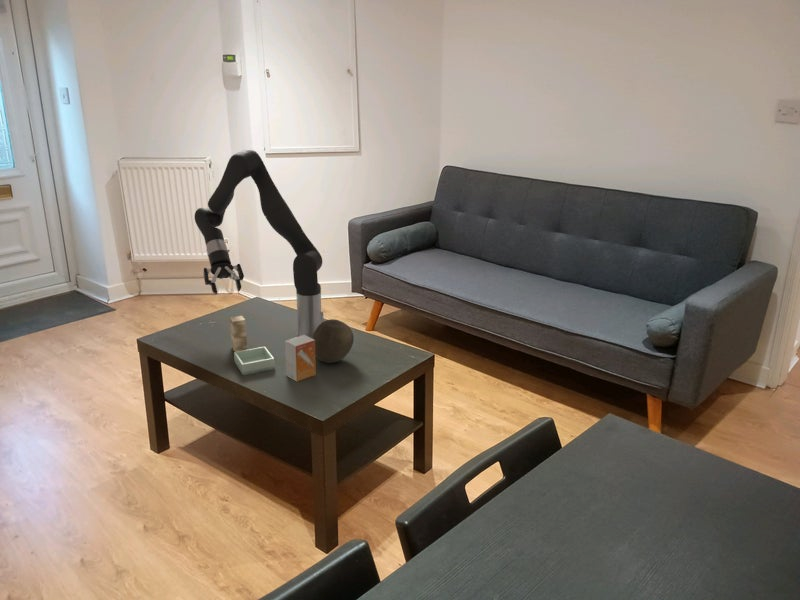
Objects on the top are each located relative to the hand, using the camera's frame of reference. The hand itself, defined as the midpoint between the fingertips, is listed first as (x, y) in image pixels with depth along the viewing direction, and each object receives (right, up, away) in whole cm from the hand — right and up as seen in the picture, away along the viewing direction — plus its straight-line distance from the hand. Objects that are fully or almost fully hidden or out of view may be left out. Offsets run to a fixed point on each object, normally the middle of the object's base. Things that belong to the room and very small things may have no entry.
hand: (227, 291), depth 249 cm
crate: (+14, -26, -17) cm, 34 cm away
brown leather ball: (+40, -25, -12) cm, 49 cm away
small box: (+31, -29, -23) cm, 48 cm away
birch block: (+5, -21, -4) cm, 22 cm away
